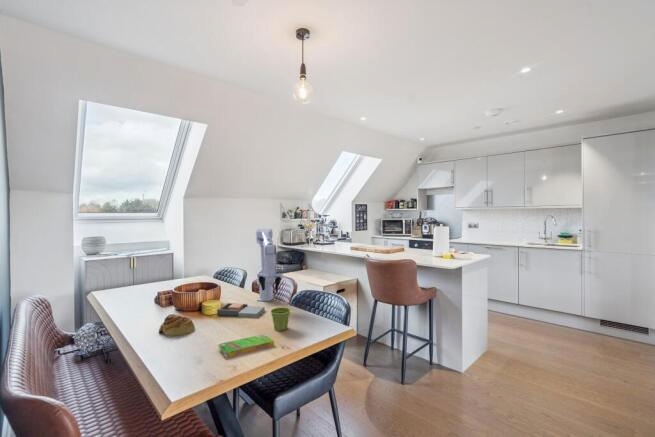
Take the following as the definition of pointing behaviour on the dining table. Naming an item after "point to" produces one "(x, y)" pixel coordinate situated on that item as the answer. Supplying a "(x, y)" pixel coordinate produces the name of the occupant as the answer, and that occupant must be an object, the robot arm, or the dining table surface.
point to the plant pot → (280, 318)
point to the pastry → (176, 325)
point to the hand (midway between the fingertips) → (270, 290)
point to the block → (236, 307)
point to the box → (225, 312)
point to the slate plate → (251, 311)
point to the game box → (246, 345)
